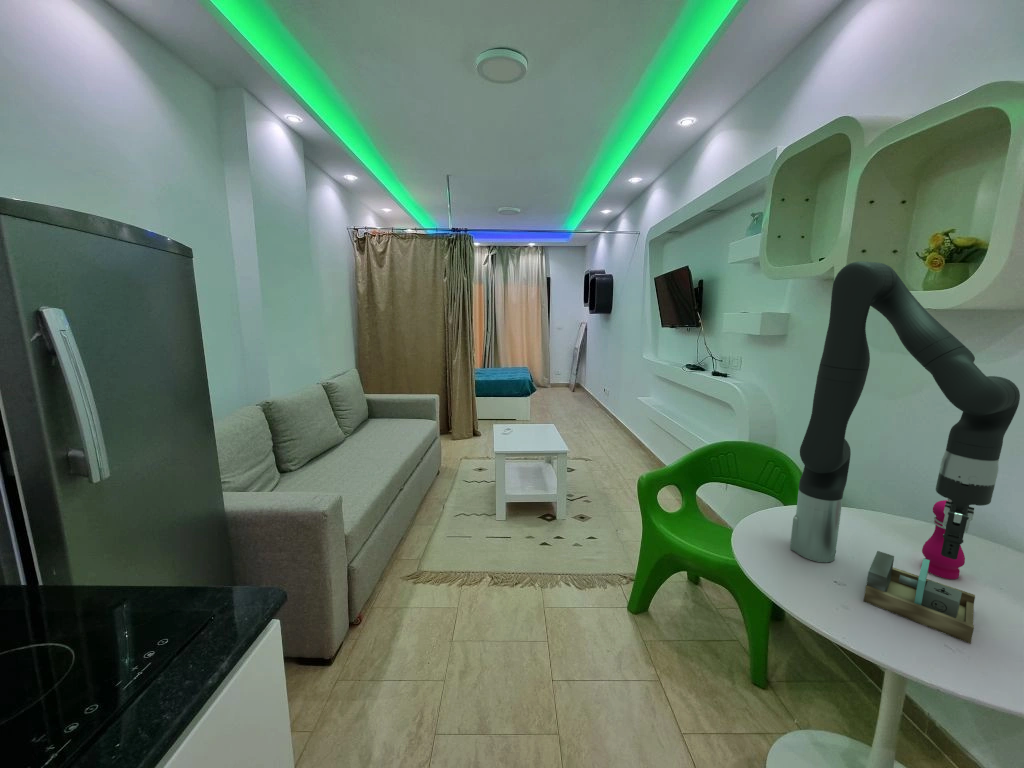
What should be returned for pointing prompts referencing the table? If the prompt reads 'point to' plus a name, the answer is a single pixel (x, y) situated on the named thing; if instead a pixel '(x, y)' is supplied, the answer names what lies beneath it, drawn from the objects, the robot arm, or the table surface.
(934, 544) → the pepper mill
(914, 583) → the bar
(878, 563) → the pusher lane
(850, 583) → the table surface
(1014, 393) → the robot arm
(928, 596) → the dice cube
